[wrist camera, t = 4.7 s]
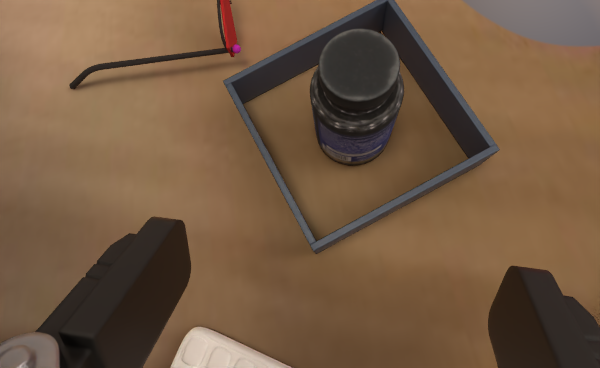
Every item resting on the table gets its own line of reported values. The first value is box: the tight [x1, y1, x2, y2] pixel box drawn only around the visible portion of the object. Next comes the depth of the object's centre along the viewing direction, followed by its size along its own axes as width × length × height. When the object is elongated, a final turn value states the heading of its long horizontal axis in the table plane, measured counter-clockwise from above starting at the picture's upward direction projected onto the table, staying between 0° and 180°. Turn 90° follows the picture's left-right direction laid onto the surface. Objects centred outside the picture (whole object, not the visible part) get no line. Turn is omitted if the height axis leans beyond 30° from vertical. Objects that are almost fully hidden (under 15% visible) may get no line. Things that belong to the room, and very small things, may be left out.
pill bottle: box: [310, 29, 404, 165], centre depth 28 cm, size 6×6×11 cm
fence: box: [223, 0, 500, 254], centre depth 31 cm, size 15×15×4 cm
